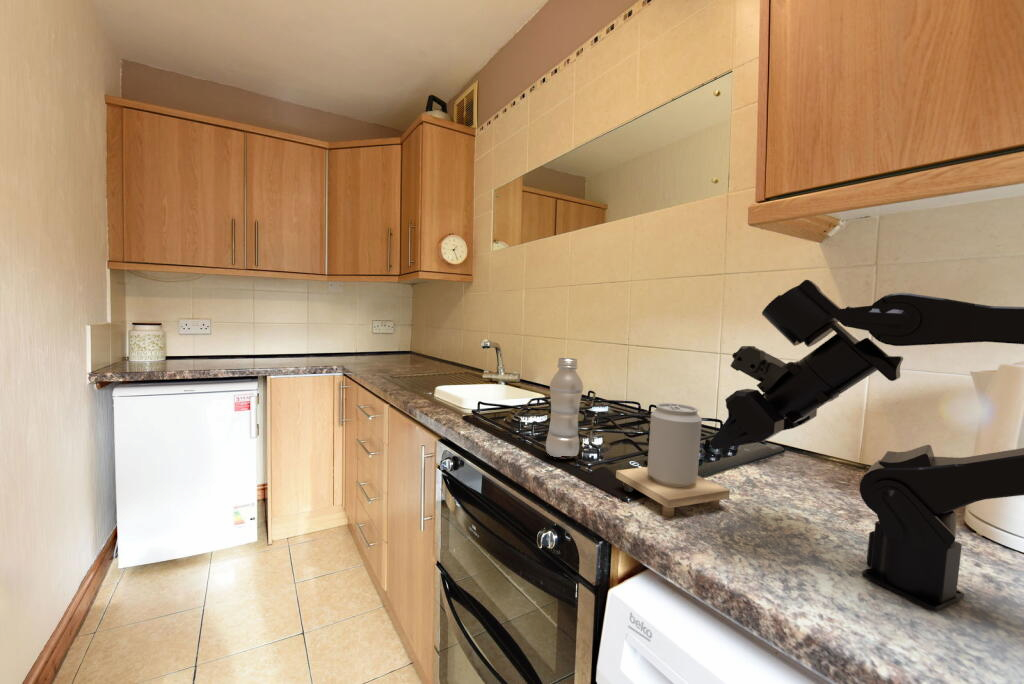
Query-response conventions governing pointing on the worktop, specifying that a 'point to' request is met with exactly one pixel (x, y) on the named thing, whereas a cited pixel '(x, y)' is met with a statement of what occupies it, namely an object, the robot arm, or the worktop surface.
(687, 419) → the can
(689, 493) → the small wooden stand
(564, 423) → the plastic bottle
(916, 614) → the worktop surface
